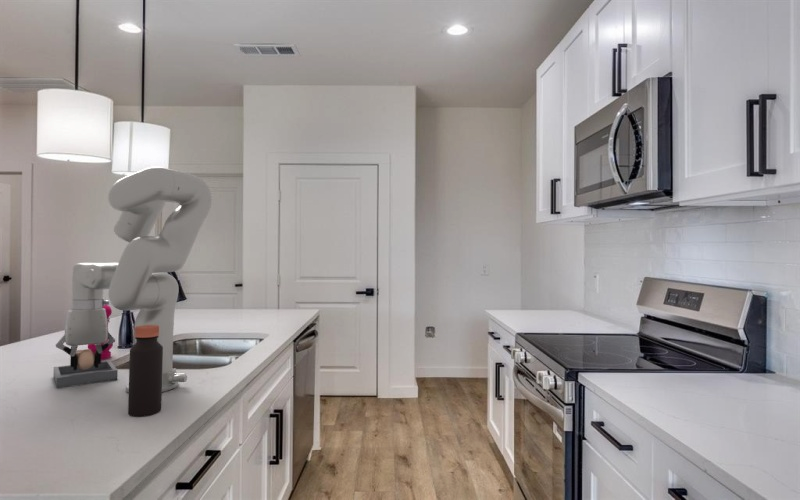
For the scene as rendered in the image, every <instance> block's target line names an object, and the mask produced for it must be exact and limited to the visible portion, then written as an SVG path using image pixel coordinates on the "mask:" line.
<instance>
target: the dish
mask: <svg viewBox="0 0 800 500" xmlns="http://www.w3.org/2000/svg"><path fill="white" fill-rule="evenodd" d="M118 373H119V372H118V369H117V367H116V365H114V363H113V362H112V361H111V360H103V361H102V360H101V364H98V368H96V367H95V366H94V364H93V366H92V367H90V368H89V369H81V368H79V367H78V365H77V370H73V367H70V364H69V365H59V366H58V365H57V366H54V367H53V380H54V384H55V387H56V389H61V388H62V389H63V388H68V387H69V388H70V387H75V386H82V385H84V386H85V385H90V384H98V383H104V382H111V381H118Z"/></svg>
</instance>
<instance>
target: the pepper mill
mask: <svg viewBox="0 0 800 500" xmlns="http://www.w3.org/2000/svg"><path fill="white" fill-rule="evenodd" d="M103 308H104V309H105V310H106V316H107V327H108V328H109V323H110V322H111V321H110V316H111V315H112V313H113V312H112V311H113V310H112V308H111V306H109V305H104V306H103ZM107 341H108V338H107ZM107 341H106V342H107ZM104 343H105V342H104ZM104 343H101V345H103V344H104ZM113 344H114V343H112V344H111V345H109V346H108V347H107V348H106V349H105V350H104V351H103V352H102V353H101V361H102V360H106V359H107V360H108V359H110V358H111V357H112V351H110V350H111V349H112V348H113ZM87 349H90V350H91V351H92V352H93V354H94V353H95V352H96V347H95V344H89V345H87Z"/></svg>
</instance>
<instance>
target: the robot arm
mask: <svg viewBox="0 0 800 500" xmlns="http://www.w3.org/2000/svg"><path fill="white" fill-rule="evenodd" d="M212 198H213V196H212V191H211V189H210V187H209V185H208V183H207V182H206V181H205V180H204V179H202V178H201V177H199V176H198V175H194V174H192V173H188V172H185V171H180V170H176V169H170V168H166V167H162V166H150V167H146V168H144V169H142V170H138V171H136V172H133V173H131V174H129V175H126V176H124V177H122V178H120V179H118V180H117V181H116V182H115V183H113V185H112V186H111V187H110V190H109V192H108V196H107V199H108V203H109V205H110V206H111V208H113V209H114V210H117V211H119V212H121V213H120V215H119V217H118V219H117V221H116V222H115V224H114V227H113V232H114V234H115V235H116V236H117V237H118V238H120V239H121V240H122V241H124V242H125V243H127V245H126V246H125V248H124V250H123V252H122V254H121V256H120V259H119V260H118V262H77V263H75V264H73V267H72V274H71V275H72V277H71V309H69V310H67V312H66V313H67V314H66V318H65V325H64V334H63V336H62V337H60V339H59V340H58V341H57V343H56V344H55V347H56V348H57V349H59V350H61V351H63V352H65V353H66V354H68V355H69V356H70V363H69V365H70V367H73V370H77V355H76V350H78V347H79V346H88V345H89V344H95V347H96V352H95V353H94V356H95V362H94V366H95V367H96V368H98V364H101V362H102V360H101V353H102V352H103V351H104V350H105V349H106V348H107V347H108V346H109V345H111V344H112V343H113V344H114V343H115V342H116V338H114V337H113V335H111V333H110V332H109V326H108V327H107V316H106V310H105V309H104V308H103V306H104V305H108V306H109V305H112V306H113V307H114V308H115V309H117V310H119V311H135V310H139V311H138V312H137V315H136V317H135V321H134V328H133V345H134V344H135V343H136V339H135V327H137V326H142V325H158V326H159V335H158V336H159V337H158V338H157V341H158V342H159V343H160V344H161V345H162V346H163V364H162V393H163V392H167V391H171V390H173V389H176V388H177V387H178V385H179V383H186V382H187V379H188V376H187V374H186V373H178V372H177V368H175V367H174V368H173V363H174V362H173V360H174V359H173V358H174V357H173V356H174V355H173V354H174V330H175V329H174V325H175V322H174V321H175V313H176V312H175V311H176V305H177V301H178V297H179V292H180V291H179V289H180V288H179V284H178V281H177V279H176V278H175V277H174V276H173V275H171V274H169V273H172V272H173V273H174V272H177V271H180V270H181V269H182V268H183V267H184V266H185V264H186V262H187V260H188V257H189V256H190V253H191V250H192V249H193V247H194V244H195V242H196V240H197V236H198V234H199V232H200V230H201V228H202V226H203V224H204V222H205V221H206V219H207V218H208V215H209V214H210V211H211V208H212V204H213V203H212V202H213V199H212ZM167 202H168V203H173V204H174V203H176V204H179V206H178V207H177V208H175V209H174V211H172V212H171V213H170V214H169V215H168V216H167V218H166V220H165V221H164V224H163V227H162V229H161V231H160V233H159V234H158V235H155V236H154V235H153V236H152V235H150V233H151V231H152V230H153V228H154V226H155V225H156V223H157V220H158V218H159V216H160V215H161V213H162V211H163V209H164V208H165V206H166V203H167ZM104 290H108V299H109V300H106V299H104ZM107 338H108V341H107ZM106 341H107V342H106ZM104 342H105V343H104ZM101 343H104V344H103V345H101ZM65 344H66V345H65ZM125 391H126V392H127V393H129V383H127V384H126V385H125Z"/></svg>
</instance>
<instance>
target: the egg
mask: <svg viewBox="0 0 800 500" xmlns="http://www.w3.org/2000/svg"><path fill="white" fill-rule="evenodd" d="M82 350H83V351H82V352H81V353H80V354H79V355H78V357H77V365H78V367H79V368H81V369H89V368H90V367H92V366H93V364H94V362H95V356H94V354H93V352H92V351H90V350H85V349H82Z"/></svg>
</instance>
